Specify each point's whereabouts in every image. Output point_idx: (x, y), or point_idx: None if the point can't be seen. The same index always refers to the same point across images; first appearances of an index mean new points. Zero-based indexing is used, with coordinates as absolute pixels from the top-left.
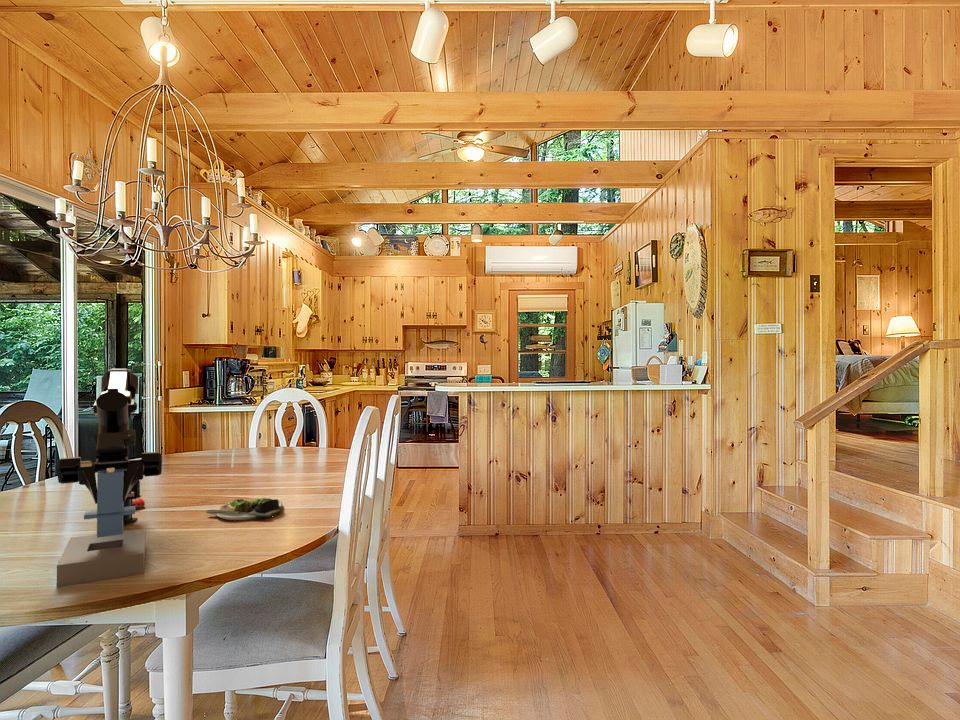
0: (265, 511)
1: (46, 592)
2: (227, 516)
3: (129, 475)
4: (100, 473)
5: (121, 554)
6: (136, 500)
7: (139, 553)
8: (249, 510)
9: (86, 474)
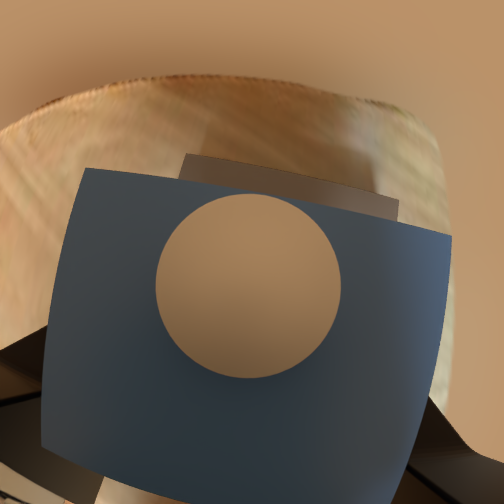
0: None
1: (393, 193)
2: None
3: (39, 360)
4: (414, 266)
5: (239, 180)
6: None
7: (195, 158)
8: None
9: (488, 461)
